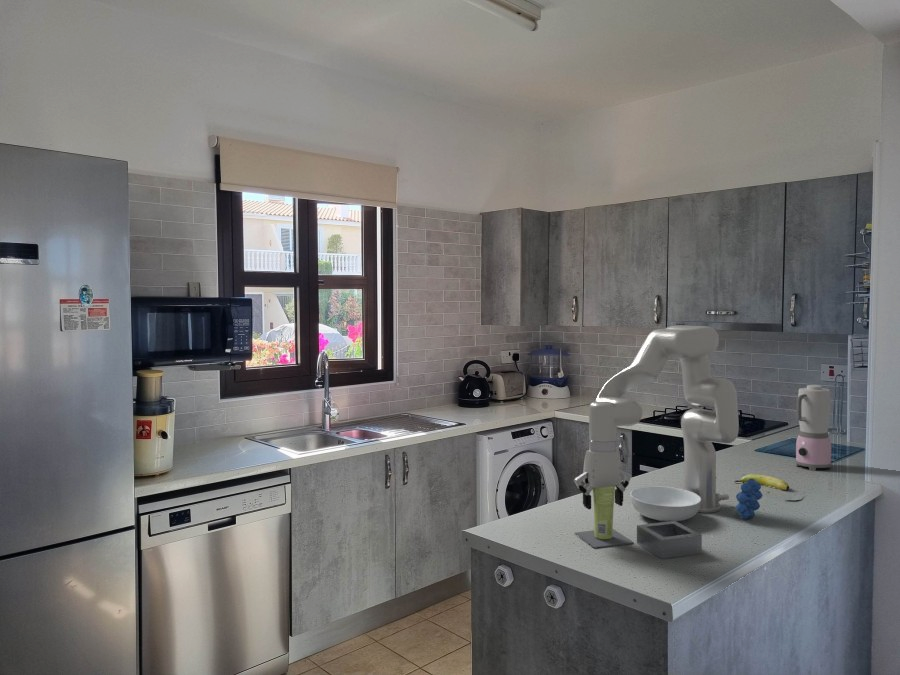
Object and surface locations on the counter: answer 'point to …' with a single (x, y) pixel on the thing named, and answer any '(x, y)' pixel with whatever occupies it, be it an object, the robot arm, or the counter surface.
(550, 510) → the counter surface
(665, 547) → the housing
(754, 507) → the grapes
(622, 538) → the mat
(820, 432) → the blender
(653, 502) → the serving bowl
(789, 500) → the counter surface
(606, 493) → the tube
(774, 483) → the banana
